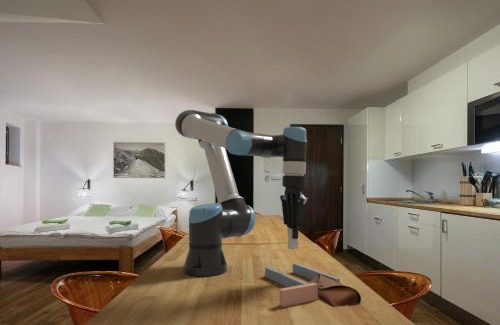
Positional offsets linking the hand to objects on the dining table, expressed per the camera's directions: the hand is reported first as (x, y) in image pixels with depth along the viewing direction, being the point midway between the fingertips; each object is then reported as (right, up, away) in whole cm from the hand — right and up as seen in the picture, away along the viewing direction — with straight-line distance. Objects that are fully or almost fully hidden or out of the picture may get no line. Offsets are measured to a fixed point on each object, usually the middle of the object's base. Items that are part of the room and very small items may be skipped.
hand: (292, 248), depth 108 cm
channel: (+2, -10, -3) cm, 10 cm away
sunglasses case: (+8, -10, -15) cm, 19 cm away
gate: (-1, -9, -21) cm, 23 cm away
